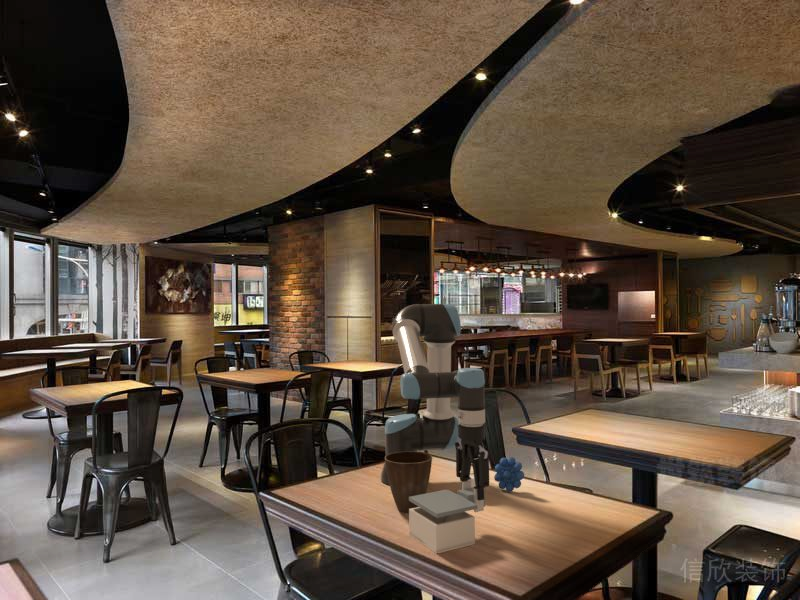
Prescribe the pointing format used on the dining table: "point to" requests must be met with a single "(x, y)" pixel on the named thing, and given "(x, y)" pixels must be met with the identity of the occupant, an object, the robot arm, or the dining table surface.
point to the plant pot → (408, 476)
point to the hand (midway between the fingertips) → (472, 507)
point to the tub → (442, 530)
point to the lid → (446, 502)
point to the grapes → (509, 474)
